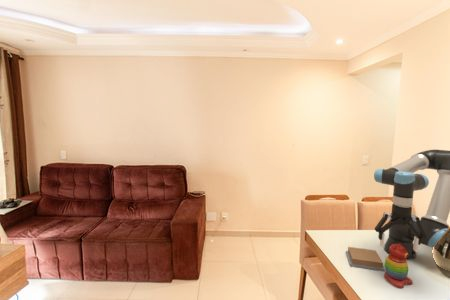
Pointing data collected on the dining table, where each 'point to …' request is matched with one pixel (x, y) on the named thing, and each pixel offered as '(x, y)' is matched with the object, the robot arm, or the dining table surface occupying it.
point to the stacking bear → (397, 266)
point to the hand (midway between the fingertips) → (398, 248)
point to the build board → (364, 259)
